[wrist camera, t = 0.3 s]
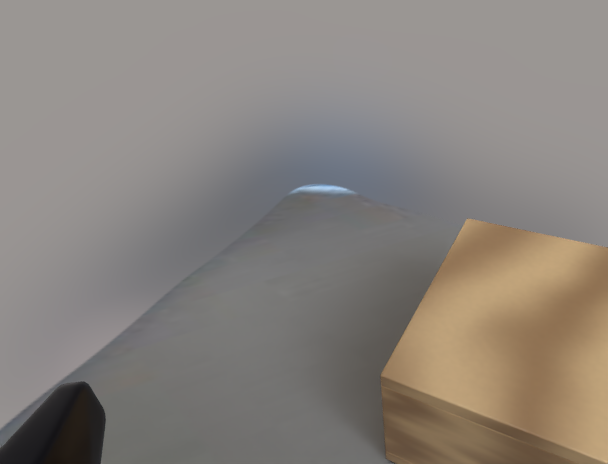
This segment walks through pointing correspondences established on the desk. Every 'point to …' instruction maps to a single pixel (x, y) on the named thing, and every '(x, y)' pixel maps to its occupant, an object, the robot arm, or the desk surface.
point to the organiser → (504, 355)
